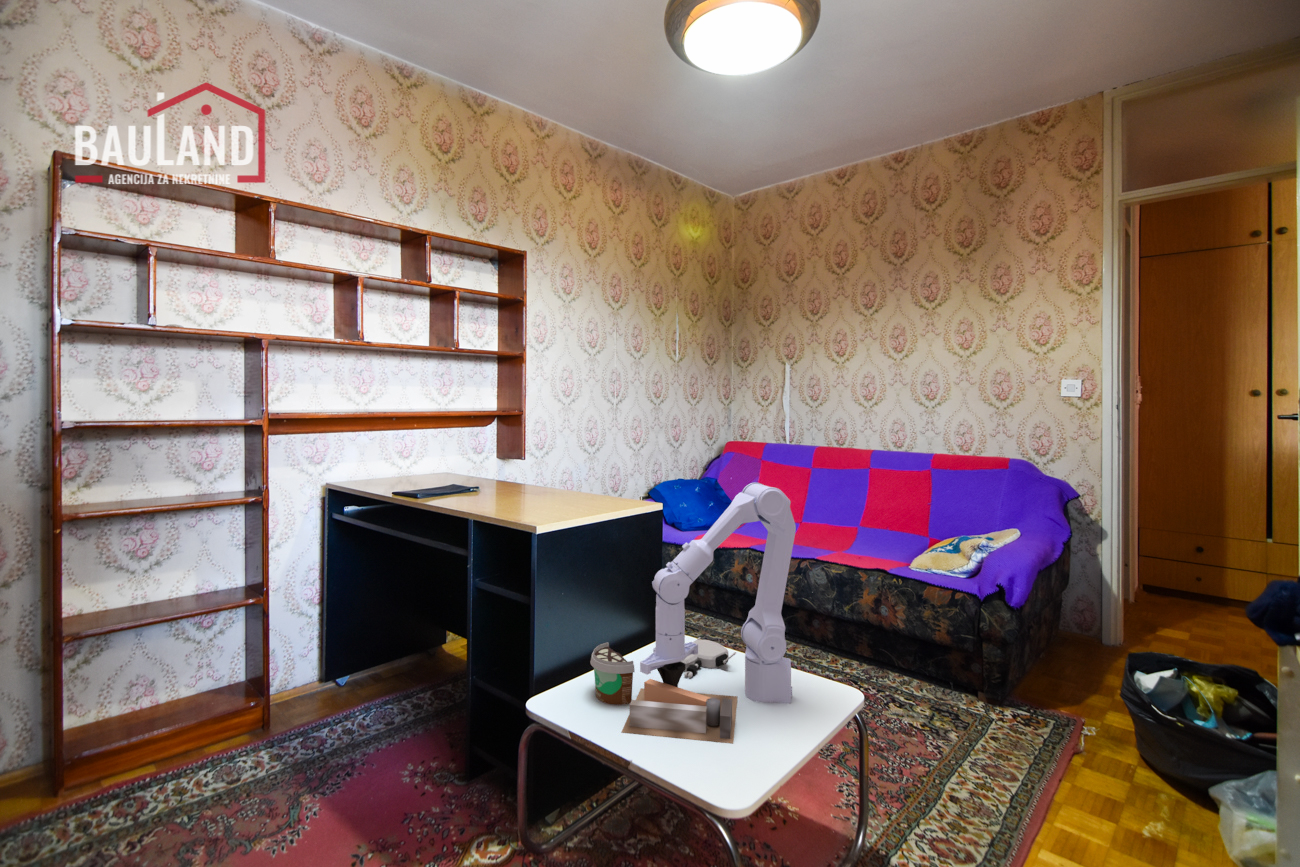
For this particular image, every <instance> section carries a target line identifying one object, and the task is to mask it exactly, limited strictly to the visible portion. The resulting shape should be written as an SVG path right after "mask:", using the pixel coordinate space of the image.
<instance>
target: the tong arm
mask: <svg viewBox="0 0 1300 867" xmlns="http://www.w3.org/2000/svg"><path fill="white" fill-rule="evenodd" d="M643 685H644V686H643V689H644V701H651V702H662V703H674V704H685V705H696V706H707V725H710V726H718V725H719V724H720V700H719V699H716V698H710V697H707V696H704V695H701V694H698V693H699V692H694V691H690V690H688V689H684V688H681V687H679V686H678V687H675V686H672V685H669V684H665V683H663V681H659V680H655V679H653V678H649V679H647V680H645V681H644V684H643Z"/></svg>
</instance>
